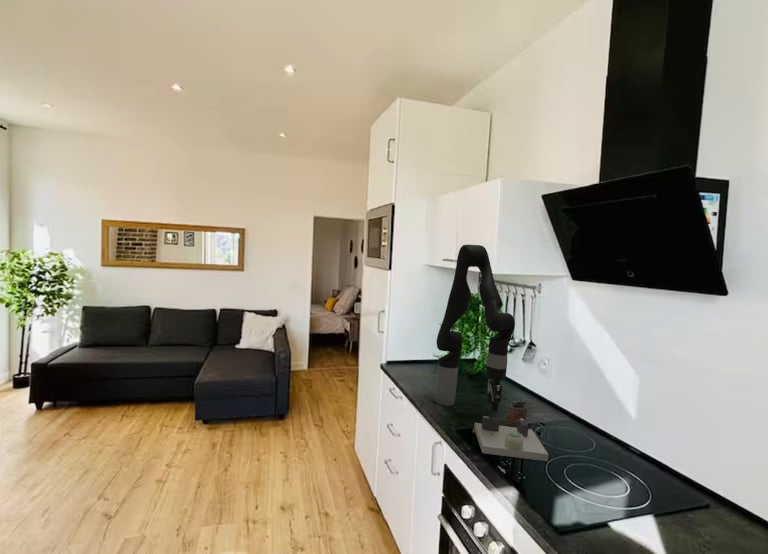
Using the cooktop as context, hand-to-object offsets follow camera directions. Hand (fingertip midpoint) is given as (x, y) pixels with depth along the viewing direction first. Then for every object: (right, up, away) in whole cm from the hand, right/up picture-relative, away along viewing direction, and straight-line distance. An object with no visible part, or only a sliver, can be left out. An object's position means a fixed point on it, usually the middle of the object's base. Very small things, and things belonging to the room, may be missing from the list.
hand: (492, 407), depth 152 cm
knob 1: (-1, -8, +1) cm, 8 cm away
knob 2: (+11, -10, 0) cm, 15 cm away
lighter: (+14, -12, +15) cm, 24 cm away
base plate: (+5, -12, -5) cm, 14 cm away
